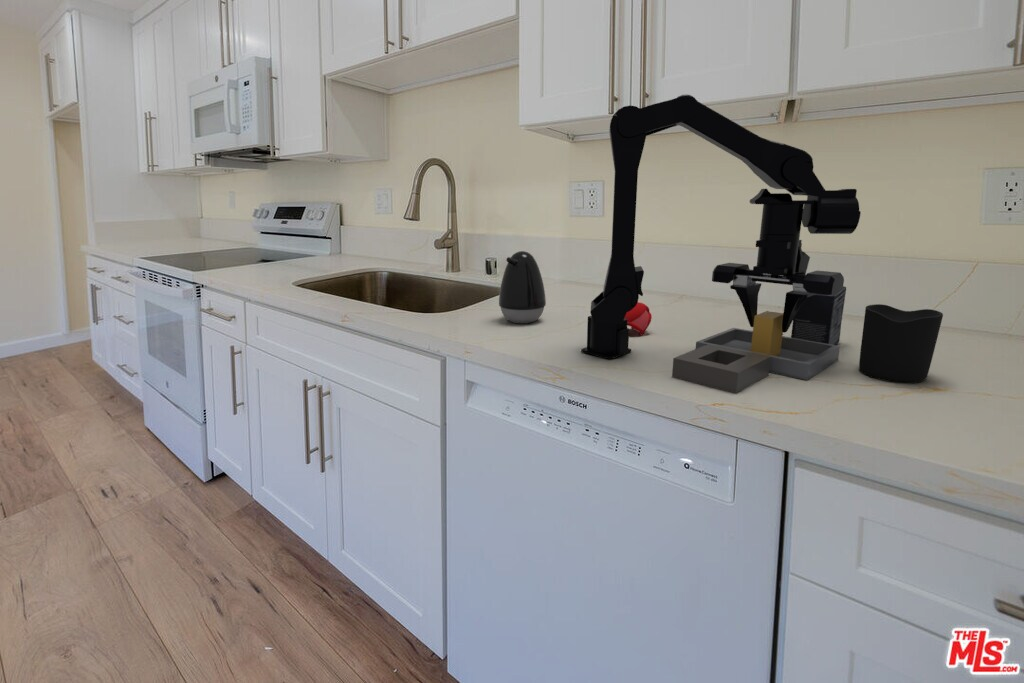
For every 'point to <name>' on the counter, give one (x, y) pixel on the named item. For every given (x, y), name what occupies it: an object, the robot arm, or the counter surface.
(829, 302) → the small box
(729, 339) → the parts tray
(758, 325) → the block
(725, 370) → the gray square frame
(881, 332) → the pen holder
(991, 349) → the counter surface
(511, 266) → the pump dispenser
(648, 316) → the cap
